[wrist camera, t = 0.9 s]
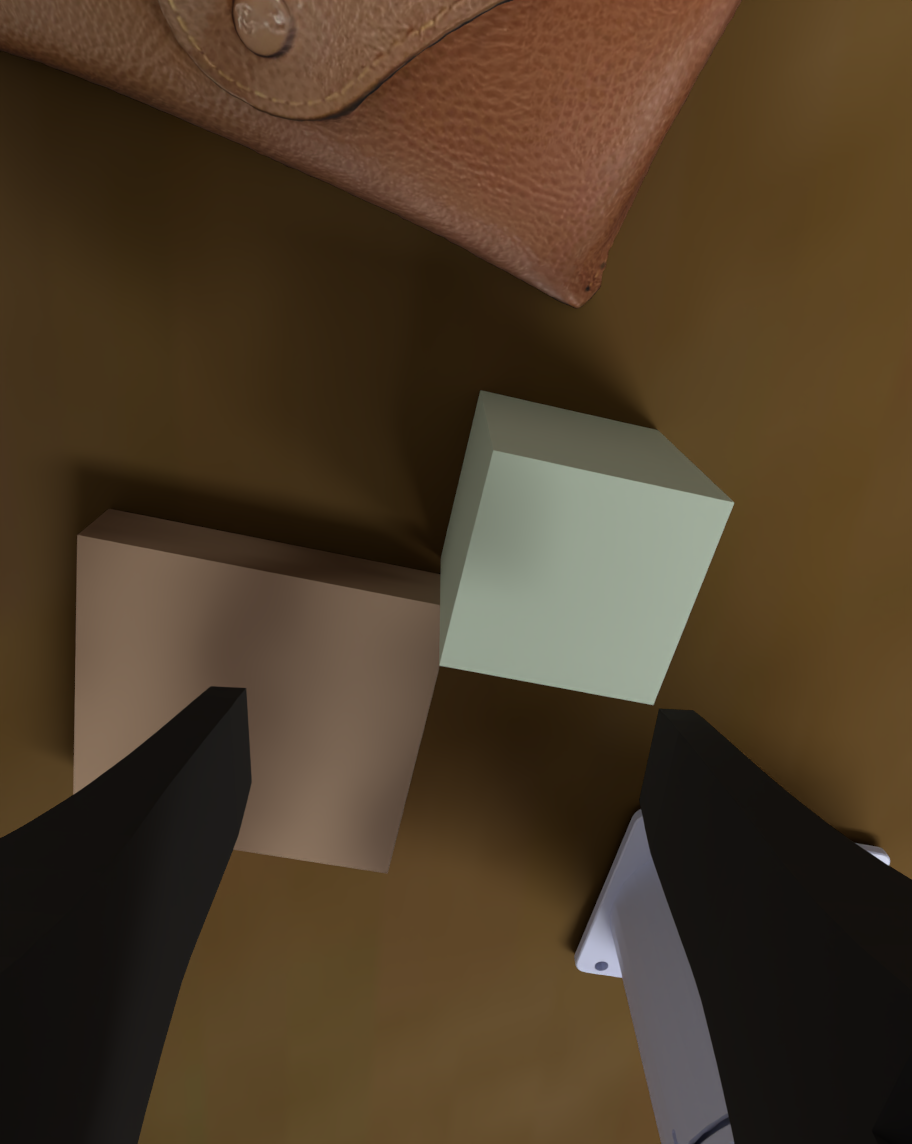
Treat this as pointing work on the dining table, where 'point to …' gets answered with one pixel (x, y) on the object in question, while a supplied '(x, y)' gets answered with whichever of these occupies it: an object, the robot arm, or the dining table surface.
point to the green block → (573, 550)
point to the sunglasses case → (417, 102)
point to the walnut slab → (262, 672)
